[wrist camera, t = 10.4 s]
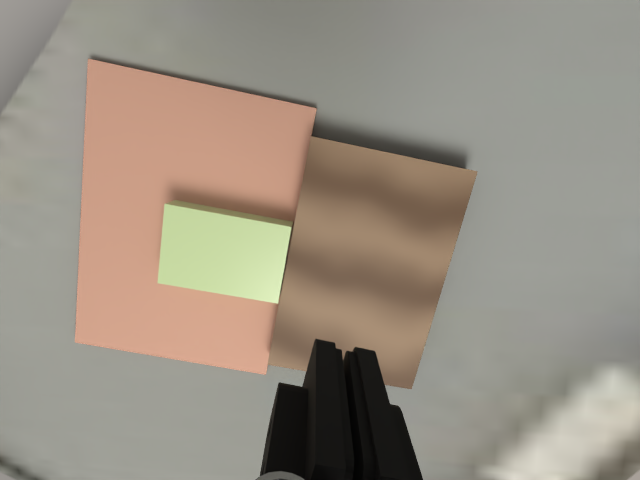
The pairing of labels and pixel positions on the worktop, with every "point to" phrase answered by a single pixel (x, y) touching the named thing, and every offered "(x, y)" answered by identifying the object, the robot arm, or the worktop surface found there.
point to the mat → (183, 185)
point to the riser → (368, 256)
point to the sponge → (223, 251)
